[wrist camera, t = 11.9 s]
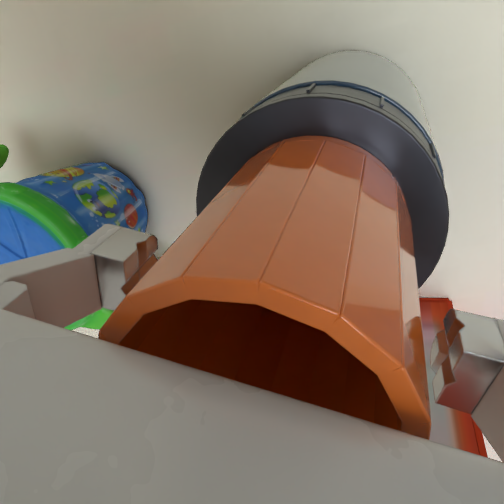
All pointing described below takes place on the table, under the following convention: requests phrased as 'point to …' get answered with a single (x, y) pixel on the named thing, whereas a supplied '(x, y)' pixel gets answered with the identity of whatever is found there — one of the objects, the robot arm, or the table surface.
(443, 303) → the file binder
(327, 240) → the cup
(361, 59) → the jar
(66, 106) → the table surface
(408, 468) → the robot arm
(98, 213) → the snack cup
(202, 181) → the jar lid
